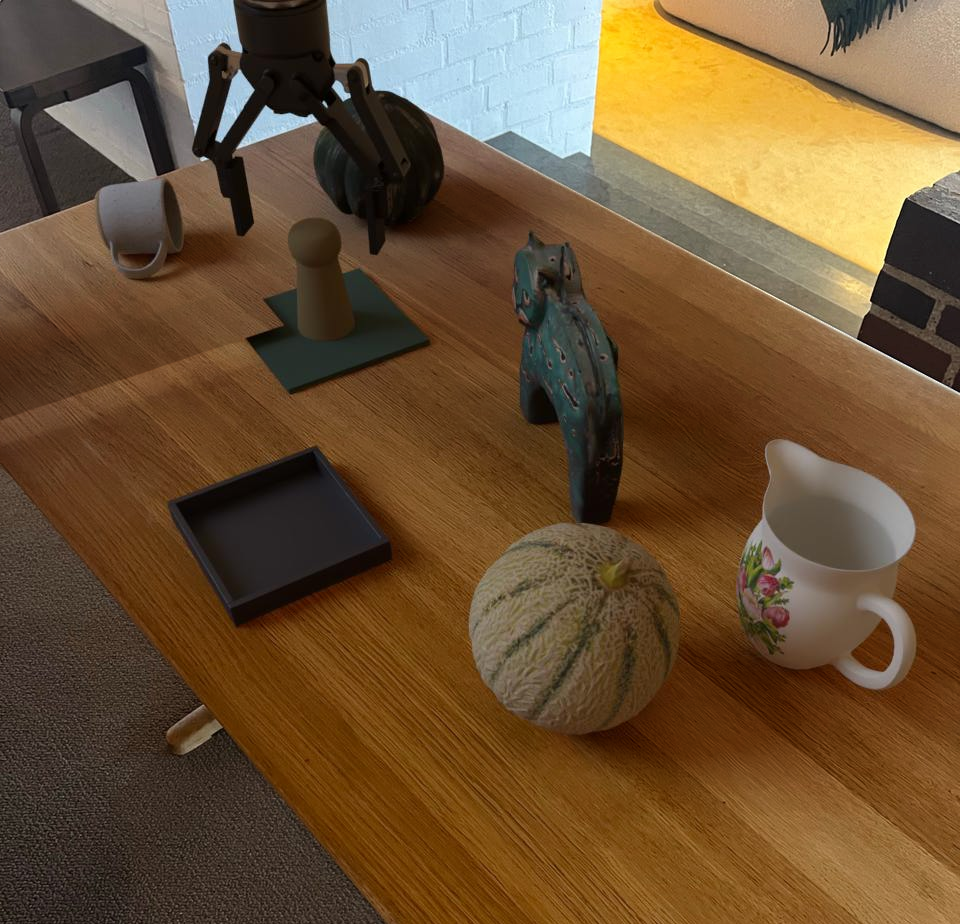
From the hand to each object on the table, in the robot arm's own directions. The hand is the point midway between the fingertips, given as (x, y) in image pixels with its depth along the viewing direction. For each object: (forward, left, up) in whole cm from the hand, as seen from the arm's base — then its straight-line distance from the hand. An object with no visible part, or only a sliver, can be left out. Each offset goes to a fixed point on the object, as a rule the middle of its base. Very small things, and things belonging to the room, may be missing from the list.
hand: (311, 238), depth 97 cm
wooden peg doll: (0, 0, -10) cm, 10 cm away
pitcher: (+58, +13, -10) cm, 61 cm away
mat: (0, 0, -10) cm, 10 cm away
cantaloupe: (+52, -5, -10) cm, 53 cm away
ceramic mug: (-24, -11, -10) cm, 28 cm away
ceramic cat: (+30, +10, -10) cm, 33 cm away
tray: (+26, -17, -10) cm, 33 cm away
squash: (-19, +17, -10) cm, 28 cm away
